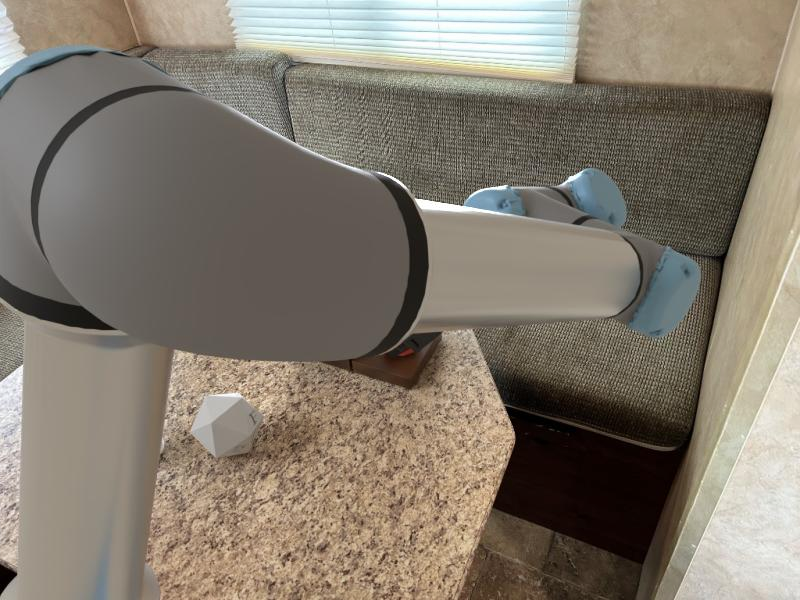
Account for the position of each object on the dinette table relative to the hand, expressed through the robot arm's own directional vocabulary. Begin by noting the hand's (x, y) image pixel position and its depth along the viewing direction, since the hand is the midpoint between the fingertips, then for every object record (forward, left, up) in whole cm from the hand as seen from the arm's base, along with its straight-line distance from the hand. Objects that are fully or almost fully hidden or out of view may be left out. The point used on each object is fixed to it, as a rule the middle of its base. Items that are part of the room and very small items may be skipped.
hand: (407, 320), depth 91 cm
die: (-26, -14, -8) cm, 30 cm away
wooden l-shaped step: (-6, +3, -8) cm, 11 cm away
